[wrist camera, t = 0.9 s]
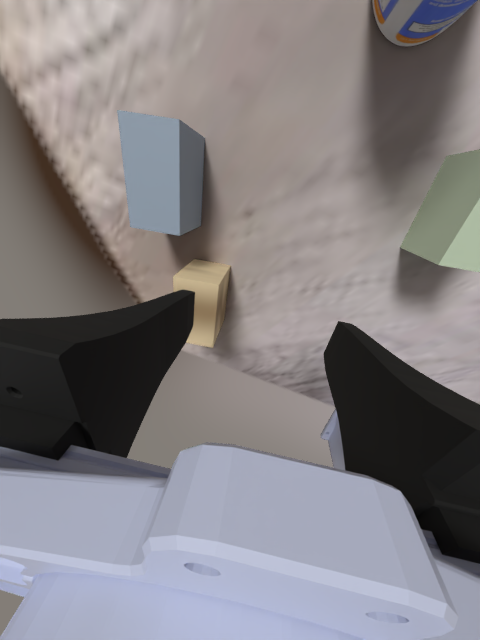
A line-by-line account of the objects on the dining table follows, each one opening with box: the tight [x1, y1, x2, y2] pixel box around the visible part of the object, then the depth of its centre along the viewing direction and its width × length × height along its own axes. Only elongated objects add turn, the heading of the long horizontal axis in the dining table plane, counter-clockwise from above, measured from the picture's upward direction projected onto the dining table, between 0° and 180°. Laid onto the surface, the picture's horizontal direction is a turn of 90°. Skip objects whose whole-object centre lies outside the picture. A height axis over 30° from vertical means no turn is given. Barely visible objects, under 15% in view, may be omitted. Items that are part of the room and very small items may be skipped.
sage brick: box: [400, 149, 480, 272], centre depth 14 cm, size 6×4×5 cm, turn 172°
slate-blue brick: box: [117, 110, 205, 236], centre depth 16 cm, size 6×4×5 cm, turn 172°
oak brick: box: [173, 259, 231, 348], centre depth 20 cm, size 6×4×5 cm, turn 172°
